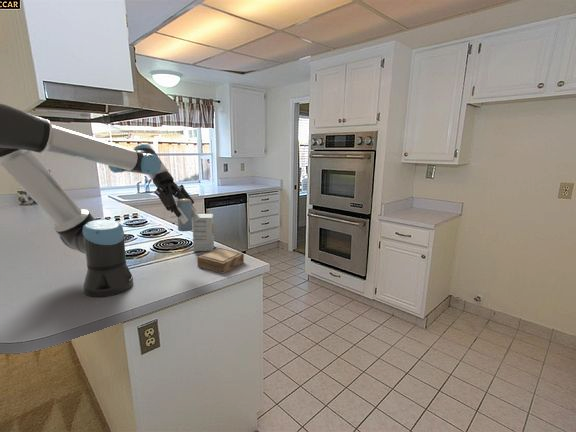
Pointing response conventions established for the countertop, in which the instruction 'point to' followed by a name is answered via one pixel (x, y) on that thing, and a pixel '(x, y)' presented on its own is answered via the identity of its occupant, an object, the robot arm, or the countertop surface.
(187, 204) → the canister
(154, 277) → the countertop surface
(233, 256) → the walnut base
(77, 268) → the countertop surface
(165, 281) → the countertop surface
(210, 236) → the supplement box
